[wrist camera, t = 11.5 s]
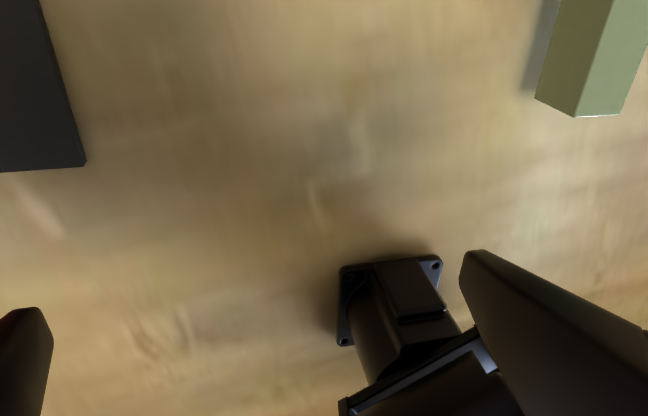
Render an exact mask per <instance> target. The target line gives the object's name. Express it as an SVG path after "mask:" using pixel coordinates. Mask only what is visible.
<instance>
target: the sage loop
mask: <svg viewBox="0 0 648 416" xmlns="http://www.w3.org/2000/svg"><path fill="white" fill-rule="evenodd" d="M647 45H648V0H562V2H561V6H560V9H559V13H558V16H557V20H556V23H555V27H554V30H553V34H552V37H551V41H550V44H549V48H548V51H547V55H546V58H545V62H544V65H543V69H542V72H541V76H540V79H539V83H538V86H537V90H536V93H535V97H534V98H535V99H537V100H539V101H541V102H543V103H545V104H547V105H549V106H551V107H553V108H555V109H557V110H559V111H561V112H563V113H565V114H567V115H569V116H571V117H573V118H576V117H592V116H608V115H619V114H620V112H621V110H622V107H623V105H624V102H625V100H626V97H627V95H628V92H629V90H630V87H631V85H632V82H633V80H634V77H635V75H636V72H637V70H638V67H639V65H640V63H641V60H642V58H643V55H644V53H645V50H646V48H647Z"/></svg>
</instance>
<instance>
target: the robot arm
mask: <svg viewBox="0 0 648 416" xmlns="http://www.w3.org/2000/svg"><path fill="white" fill-rule="evenodd" d="M434 263H435V264H434ZM433 264H434V265H433ZM442 267H443V262H442V260H441V259H440V258H439V256H435V255H433V256H425V257H418V258H410V259H402V260H394V261H386V262H378V263H370V264H362V265H354V266H347V267H344V268H342V269H341V270H340V272H339V283H338V302H337V322H336V341H337V344H338V345H339V346H349V345H355V346H356V349H357V352H358V355H359V358H360V361H361V364H362V366H363V369H364V372H365V375H366V378H367V381H368V384H369V386H368V387H366V388H364V389H363V390H361V391H359V392H357V393H355V394H354V395H352V396H350V397H345V398H343V399H341V400H339V401H338V410H339V416H648V331H647V330H642V328H641V327H639V326H637V325H635V324H633V323H631V322H629V321H627V320H625V319H623V318H621V317H619V316H617V315H615V314H613V313H611V312H609V311H607V310H605V309H603V308H601V307H599V306H597V305H595V304H593V303H591V302H589V301H587V300H585V299H583V298H581V297H579V296H577V295H575V294H573V293H571V292H569V291H567V290H565V289H563V288H561V287H559V286H557V285H555V284H553V283H551V282H549V281H547V280H545V279H543V278H541V277H539V276H537V275H535V274H533V273H531V272H529V271H527V270H525V269H523V268H521V267H519V266H517V265H515V264H513V263H511V262H509V261H507V260H505V259H503V258H501V257H499V256H497V255H495V254H493V253H491V252H489V251H487V250H484V249H479V250H471V251H468V252H466V253H465V255H464V258H463V263H462V267H461V271H460V275H459V286H460V289H461V291H462V294H463V296H464V298H465V301H466V303H467V305H468V307H469V310H470V312H471V314H472V317H473V319H474V321H475V324H474V327H472V328H471V329H469V330H467V331H465V332H463V333H462V332H461V330H460V329H459V327H458V325H457V324H456V322H455V321H454V319H453V318H452V316H451V314H450V313H449V311H448V310H447V306H446V304H445V302H444V301H443V299H442V298H441V296H440V295H439V293H438V291H437V290H438V285H439V281H440V276H441V271H442ZM347 274H350V275H349V276H346V275H347ZM53 347H54V340H53V336H52V333H51V331H50V329H49V327H48V324H47V322H46V320H45V318H44V316H43V314H42V312H41V310H40V309H39V308H37V307H28V308H20V309H15V310H12V311H10V312H9V313H8V314H6V315H5V316H4V317H3V318H1V319H0V416H40V414H41V410H42V405H43V399H44V394H45V389H46V384H47V379H48V373H49V368H50V363H51V358H52V353H53Z"/></svg>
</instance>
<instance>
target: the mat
mask: <svg viewBox="0 0 648 416" xmlns="http://www.w3.org/2000/svg"><path fill="white" fill-rule="evenodd" d="M86 162H87V160H86V157H85V153H84V150H83V147H82V143H81V140H80V137H79V133H78V130H77V127H76V123H75V120H74V117H73V113H72V110H71V107H70V104H69V100H68V97H67V94H66V90H65V87H64V84H63V80H62V77H61V74H60V70H59V67H58V64H57V60H56V57H55V54H54V51H53V47H52V44H51V41H50V37H49V34H48V31H47V27H46V24H45V21H44V17H43V14H42V11H41V7H40V4H39V1H38V0H0V173H2V172H16V171H30V170H44V169H58V168H72V167H83V166H84V165H85V163H86Z"/></svg>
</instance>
